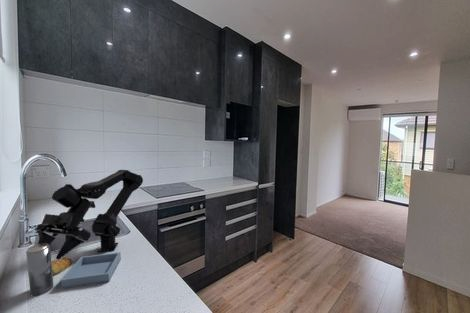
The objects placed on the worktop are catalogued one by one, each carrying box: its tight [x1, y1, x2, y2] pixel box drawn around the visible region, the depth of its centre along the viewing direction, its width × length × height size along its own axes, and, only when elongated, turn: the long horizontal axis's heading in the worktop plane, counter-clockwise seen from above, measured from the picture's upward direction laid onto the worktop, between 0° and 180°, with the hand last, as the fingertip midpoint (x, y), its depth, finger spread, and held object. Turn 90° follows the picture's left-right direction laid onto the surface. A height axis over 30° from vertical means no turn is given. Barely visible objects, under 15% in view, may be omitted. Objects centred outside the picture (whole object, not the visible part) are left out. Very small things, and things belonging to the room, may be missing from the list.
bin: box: [60, 252, 122, 289], centre depth 78 cm, size 14×14×3 cm
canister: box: [25, 243, 54, 297], centre depth 69 cm, size 6×6×15 cm
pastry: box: [51, 257, 73, 277], centre depth 80 cm, size 9×7×4 cm
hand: (46, 257), depth 70 cm, fingers open, 9 cm apart
